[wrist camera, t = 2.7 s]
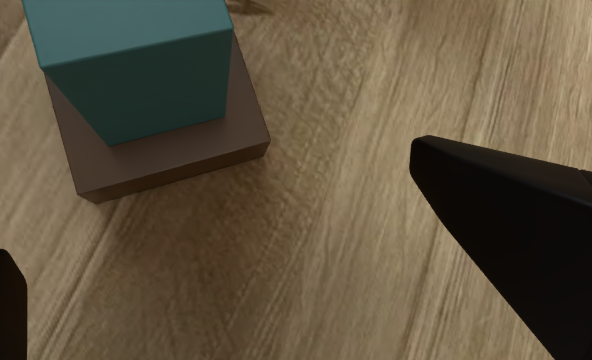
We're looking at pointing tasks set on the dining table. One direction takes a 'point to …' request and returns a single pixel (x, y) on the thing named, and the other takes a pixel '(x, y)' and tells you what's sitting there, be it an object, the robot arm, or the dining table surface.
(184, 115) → the teal toy block
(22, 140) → the dining table surface
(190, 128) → the walnut base block
